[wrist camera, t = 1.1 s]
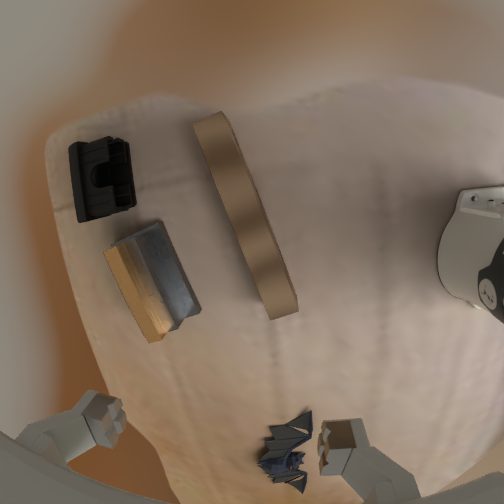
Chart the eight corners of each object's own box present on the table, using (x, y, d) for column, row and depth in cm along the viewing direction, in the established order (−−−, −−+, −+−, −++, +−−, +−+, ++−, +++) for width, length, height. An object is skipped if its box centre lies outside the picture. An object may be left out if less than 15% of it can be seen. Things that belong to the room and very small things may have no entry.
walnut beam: (202, 130, 35) (191, 124, 30) (228, 119, 34) (221, 111, 29) (271, 303, 39) (270, 320, 35) (296, 295, 39) (298, 311, 34)
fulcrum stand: (162, 220, 38) (135, 231, 30) (201, 309, 40) (185, 337, 32) (116, 242, 39) (84, 256, 31) (154, 323, 41) (132, 351, 34)
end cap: (88, 150, 36) (59, 148, 30) (128, 137, 36) (102, 131, 29) (97, 217, 39) (68, 225, 32) (138, 209, 38) (113, 216, 31)
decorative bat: (251, 423, 40) (317, 417, 40) (251, 406, 44) (313, 401, 44) (260, 504, 47) (306, 500, 47) (260, 490, 51) (304, 486, 51)
